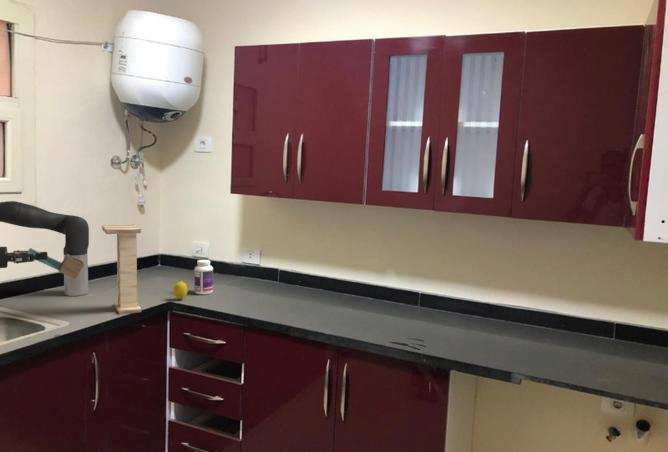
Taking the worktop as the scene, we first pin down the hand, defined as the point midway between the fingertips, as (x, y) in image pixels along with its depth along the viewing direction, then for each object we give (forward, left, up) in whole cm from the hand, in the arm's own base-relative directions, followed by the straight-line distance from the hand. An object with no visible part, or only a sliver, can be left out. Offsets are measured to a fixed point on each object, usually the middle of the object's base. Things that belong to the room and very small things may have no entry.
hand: (47, 255), depth 201 cm
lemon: (-6, +49, -23) cm, 55 cm away
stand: (0, +25, -22) cm, 34 cm away
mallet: (0, +1, -4) cm, 4 cm away
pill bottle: (-14, +61, -23) cm, 67 cm away
